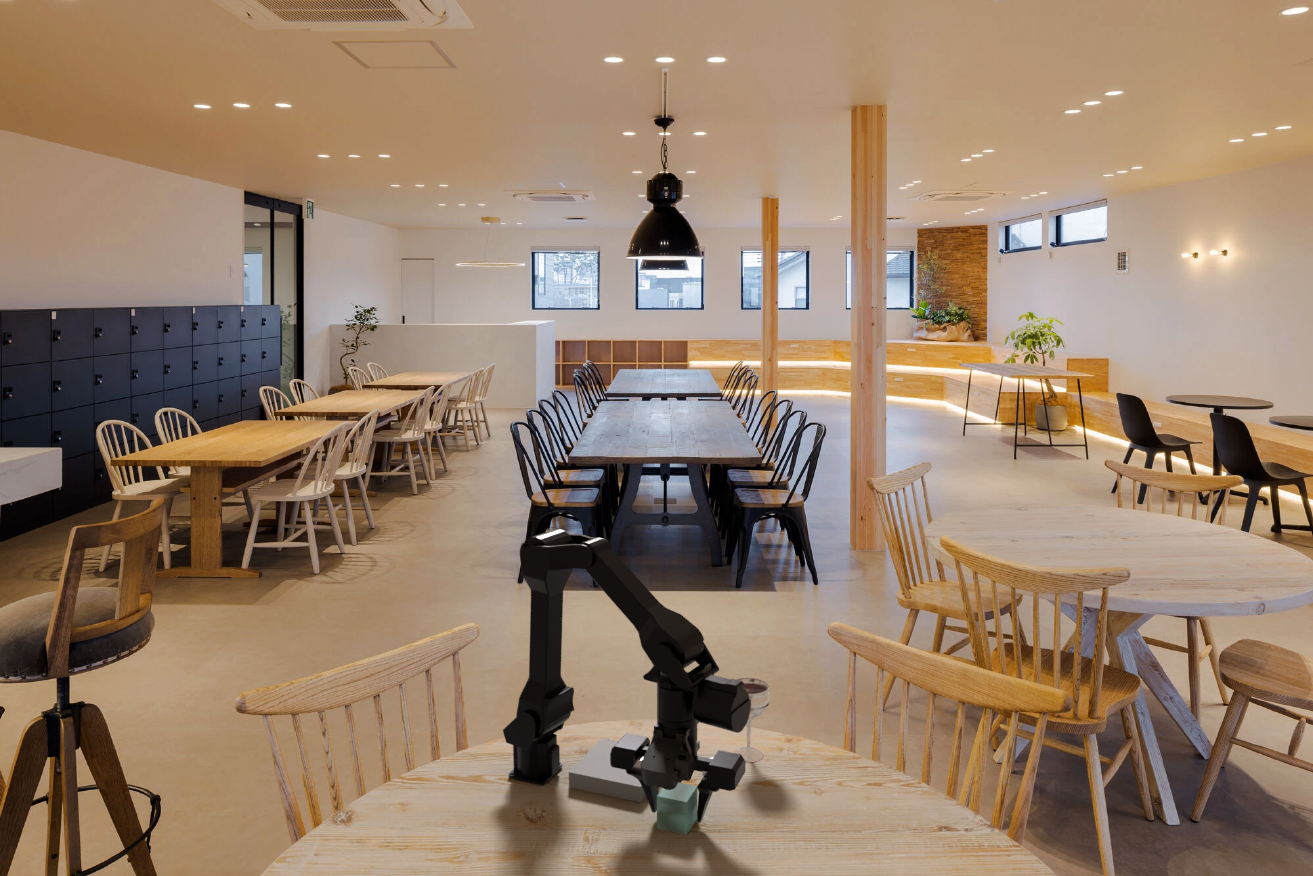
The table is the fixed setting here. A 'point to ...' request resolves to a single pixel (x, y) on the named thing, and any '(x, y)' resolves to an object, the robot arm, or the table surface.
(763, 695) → the wineglass
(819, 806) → the table surface
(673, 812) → the teal block
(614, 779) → the plinth
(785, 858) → the table surface
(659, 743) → the robot arm
